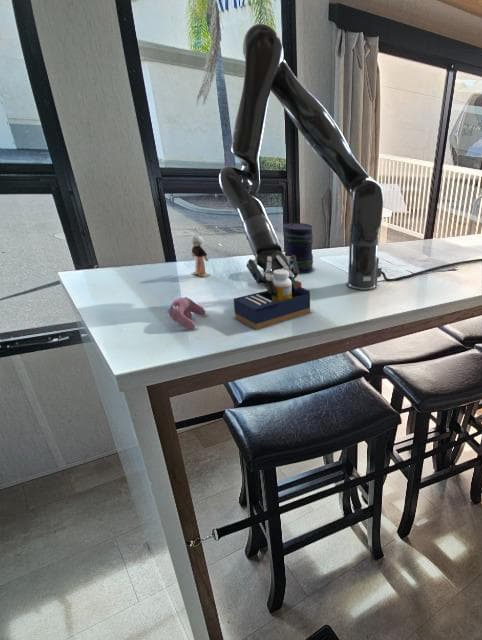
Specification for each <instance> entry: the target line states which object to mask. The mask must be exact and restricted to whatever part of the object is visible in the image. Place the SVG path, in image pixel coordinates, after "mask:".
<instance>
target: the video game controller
mask: <svg viewBox="0 0 482 640" xmlns="http://www.w3.org/2000/svg"><path fill="white" fill-rule="evenodd" d="M167 313H168V315H169V317H170V318H171V320H172V321H173V322H176V323H177V324H178V325H180V326H181V327H183V328H186V329H188V330H194V329H195V328H196V324H195V322H194V321H193V320H191V319H192V318H193V314H195V315H197V316H201V317H204V316H205V315H206V310H205V309H204V308H203V307H202V306H201V305H200V304H197V303H196V302H195V301H194V300H192V299H191V298H188V297H187V296H185V297H180V298H177V299H175V300H173V302H172V303H171V305H170V307H169V308H168V312H167Z"/></svg>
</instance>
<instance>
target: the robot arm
mask: <svg viewBox="0 0 482 640" xmlns="http://www.w3.org/2000/svg"><path fill="white" fill-rule="evenodd" d="M242 53H243V57H244V60H245V63H244V64H245V65H244V78H243V87H242V92H241V97H240V100H239V104H238V108H237V114H236V117H235V122H234V127H233V133H232V139H231V146H230V152H231V154H232V155H233V156H234V157H235V158H237V159H238V160H239V161H240V167H241V168H239V167H236V166H233V165H226V166H223V167H222V168H221V169H220V171H219V174H218V182H219V183H218V184H219V187H220V189H221V191H222V193H223V194H224V196H225V198H226V200H227V201H228V202H229V204H230V205H231V206H232V208H233V209H234V210H235V211H236V213H237V215H238V218H239V220H240V222H241V225H242V228H243V232H244V235H245V237H246V240H247V242H248V245H249V246H250V249H251V251H252V254H253V256H254V259H251V258H250V259H248V261H247V263H246V268H247V269H248V271H249V273H250V274H251V276H252V277H253V279H254V280H255V282H256V283H257V284H261V283H263V284H265V285H264V286H265V288H266V291H267V290H268V293H269V294H270V295H271V296H272V297H275V296H276V294H277V292H276V289H275V287H274V284H273V282H272V281H270V280H271V273H273V271H274V270H277V269H284V270H287V271H288V272H289V277H288V278H289V279H290V280H291V282H292V293H296V292H297V289H298V286H297V284H296V279H297V277H298V276H299V270H298V265H297V261H296V256H295V255H292V256H285V253H284V252H283V250H282V246H281V244H280V242H279V239H278V236H277V234H276V232H275V230H274V227H273V224H272V223H271V221H270V219H269V218H268V214H267V213H266V210H265V207H264V206H263V204H262V202H261V201H260V200H259V199H258V198H256V196H257V195H258V193H259V191H260V186H261V179H260V177H261V176H260V161H259V157H260V152H261V146H262V140H263V135H264V128H265V122H266V115H267V109H268V105H269V104H268V103H269V99H270V94H271V92H272V94H273V95H274V96H275V97H276V99H277V100H278V101H279V103H280V104H281V106H282V107H283V109H284V110H285V113H286V114H287V115H288V117H289V118H290V119H291V122H292V123H293V124H294V125H295V127H296V128H297V130H298V131H299V132H300V134H301V136H302V137H303V138H304V140H305V141H306V143H307V144H308V145H309V146H310V147H311V149H312V150H313V151H314V152H315V153H316V155H317V156H318V157H319V158H320V159H321V161H322V162H324V163H325V164H326V166H327V167H328V168H329V169H330V170H331V171H332V172H333V173H334V174H335V175H336V176H337V178H338V179H339V181H340V183H341V185H342V186H343V187H344V189H345V190H346V192H347V194H348V196H349V197H350V200H351V201H352V210H351V211H352V212H351V213H352V214H351V221H350V225H349V249H348V273H347V276H348V277H347V286H348V287H350V288H351V289H354V290H360V291H368V290H369V291H370V290H372V289H374V288H376V286H377V285H378V278H381V277H383V280H385V281H387V282H397V281H400V280H404V279H408V278H411V277H414V276H418V275H421V274H425V273H428V272H433V271H435V270H439V269H443V268H447V267H452V266H456V265H462V264H463V265H464V264H469V263H475V262H482V258H477V259H469V260H461V261H457V262H451V263H446V264H443V265H439V266H434V267H431V268H427V269H423V270H420V271H417V272H414V273H413V272H412V273H410V274H407V275H402V276H399V277H395V278H388V277H387V276H386V273H385V272H384V271H383V270H382V269H383V268H382V267H381V266H379V261H380V258H379V257H378V251H379V237H380V229H381V226H382V218H383V210H384V209H383V208H384V192H383V188H382V187H381V185H380V184H379V183H378V182H377V181H375V180H374V179H373V178H372V177H371V176H370V175H369V174H368V173H367V172H366V171H365V169H364V168H363V167H362V165H361V164H360V163H359V162H358V161H357V159H356V158H355V156H354V155H353V153H352V151H351V149H350V147H349V144H348V142H347V141H346V139H345V137H344V135H343V133H342V132H341V130H340V128H339V127H338V125H337V124H336V122H335V120H334V119H333V118H332V116H331V115H330V113H329V112H328V111H327V109H326V108H325V107H324V105H322V104H321V103H320V101H319V100H318V99H317V98H316V97H315V96H314V95H313V94H311V92H310V91H308V90H307V88H306V87H305V86H304V85H303V84H302V83H301V82H300V81H299V80H298V78H297V76H295V74H294V72H293V70H291V67H290V66H289V65H288V63H287V62H286V60H285V57H284V48H283V43H282V40H281V38H280V36H279V34H278V33H277V32H276V30H274V28H272V27H271V26H270V25H268V24H265V23H256V24H254V25H252V26H251V27H249V28H248V30H247V31H246V32H245V34H244V38H243V43H242ZM285 261H287V263H288V265H290V269H291V271H290V269H289V267H288V266H287V265H286V263H285ZM258 266H259V267H260V268H261V270H263V276H262V274H261V273H260V271H261V270H260V269H259V267H258ZM263 284H262V285H263Z"/></svg>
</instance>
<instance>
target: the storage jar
mask: <svg viewBox="0 0 482 640" xmlns="http://www.w3.org/2000/svg"><path fill="white" fill-rule="evenodd" d="M313 234H314V233H313V226H312V225H310V224H307V223H302V222H287V223H284V224H283V242H284V251H285V252H284V254H285V256H292V255H295V256H296V261H297V265H298V270H299V274H300V275H301V274H302V275H303V274H309V273H312V272H313V270H314V268H313V265H314V254H313V242H314V240H313V239H314V238H313V237H314V235H313ZM285 263H286V265H287V266H288V267H289V269H290V265H288V263H287V261H285ZM290 271H291V269H290ZM299 274H298V275H299Z"/></svg>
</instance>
